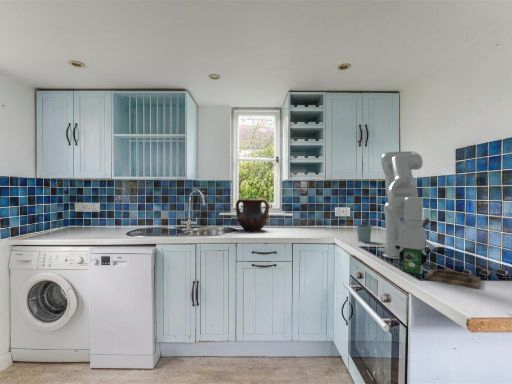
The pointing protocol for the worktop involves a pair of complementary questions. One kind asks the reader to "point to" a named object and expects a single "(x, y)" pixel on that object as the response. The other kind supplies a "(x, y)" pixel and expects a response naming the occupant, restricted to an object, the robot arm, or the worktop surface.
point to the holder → (453, 278)
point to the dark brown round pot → (252, 214)
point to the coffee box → (412, 261)
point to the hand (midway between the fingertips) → (412, 261)
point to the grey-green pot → (364, 233)
